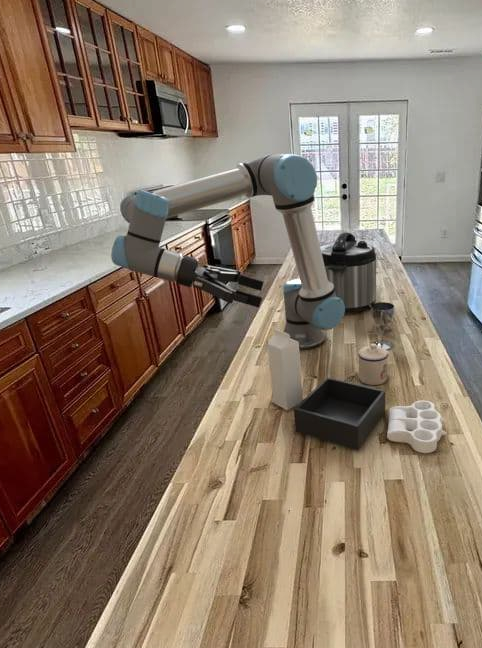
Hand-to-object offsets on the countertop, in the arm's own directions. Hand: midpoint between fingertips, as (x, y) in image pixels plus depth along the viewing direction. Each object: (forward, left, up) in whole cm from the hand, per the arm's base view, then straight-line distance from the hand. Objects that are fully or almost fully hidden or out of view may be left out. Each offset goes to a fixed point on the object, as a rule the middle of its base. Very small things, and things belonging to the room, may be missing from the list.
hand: (261, 293), depth 116 cm
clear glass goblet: (-56, +11, -31) cm, 65 cm away
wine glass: (-43, +17, -31) cm, 56 cm away
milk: (+3, +7, -31) cm, 32 cm away
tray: (+5, +25, -31) cm, 40 cm away
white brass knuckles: (0, +44, -31) cm, 54 cm away
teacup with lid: (-21, +23, -31) cm, 44 cm away
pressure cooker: (-75, -14, -31) cm, 83 cm away
